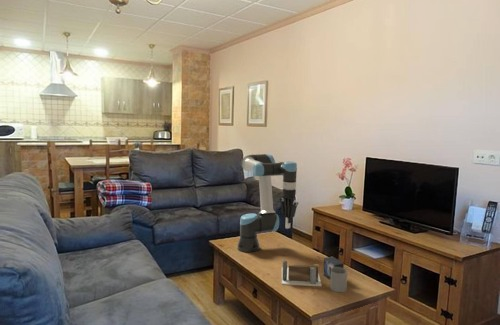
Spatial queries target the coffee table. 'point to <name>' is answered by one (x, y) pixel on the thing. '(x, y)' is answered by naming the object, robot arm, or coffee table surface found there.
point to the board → (295, 282)
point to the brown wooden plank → (301, 272)
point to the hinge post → (284, 271)
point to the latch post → (312, 275)
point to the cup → (338, 279)
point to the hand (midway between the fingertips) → (287, 227)
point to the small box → (331, 265)
